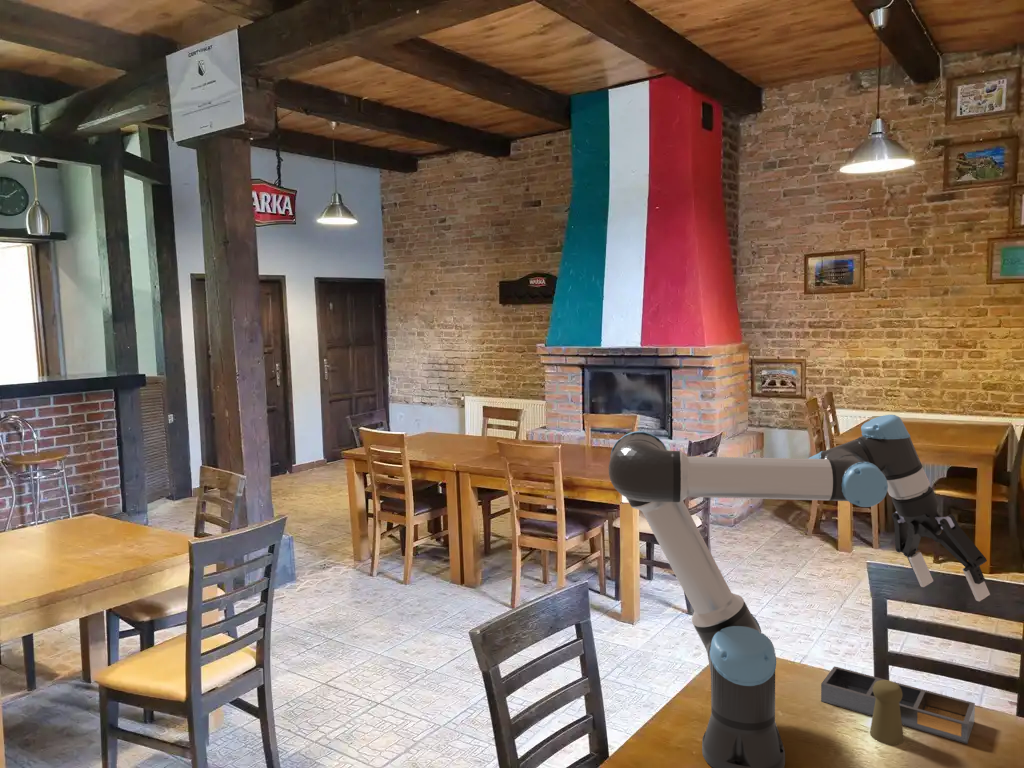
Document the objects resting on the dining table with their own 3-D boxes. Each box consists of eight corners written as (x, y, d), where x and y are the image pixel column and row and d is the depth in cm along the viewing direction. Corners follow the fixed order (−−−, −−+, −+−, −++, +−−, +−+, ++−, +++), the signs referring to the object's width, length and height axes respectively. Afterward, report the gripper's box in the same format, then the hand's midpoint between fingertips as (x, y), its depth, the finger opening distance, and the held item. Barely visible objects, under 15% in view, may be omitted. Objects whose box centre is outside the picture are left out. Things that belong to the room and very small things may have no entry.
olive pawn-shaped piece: (908, 746, 143) (909, 692, 142) (874, 743, 144) (875, 690, 143) (898, 729, 149) (899, 676, 148) (866, 726, 150) (867, 674, 149)
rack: (974, 721, 150) (974, 703, 150) (966, 744, 143) (967, 724, 143) (834, 683, 168) (834, 666, 167) (820, 701, 160) (821, 683, 160)
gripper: (978, 487, 133) (1025, 594, 133) (880, 480, 157) (920, 570, 157) (947, 505, 131) (994, 614, 131) (853, 495, 155) (893, 587, 156)
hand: (954, 590), depth 144 cm, fingers open, 13 cm apart
